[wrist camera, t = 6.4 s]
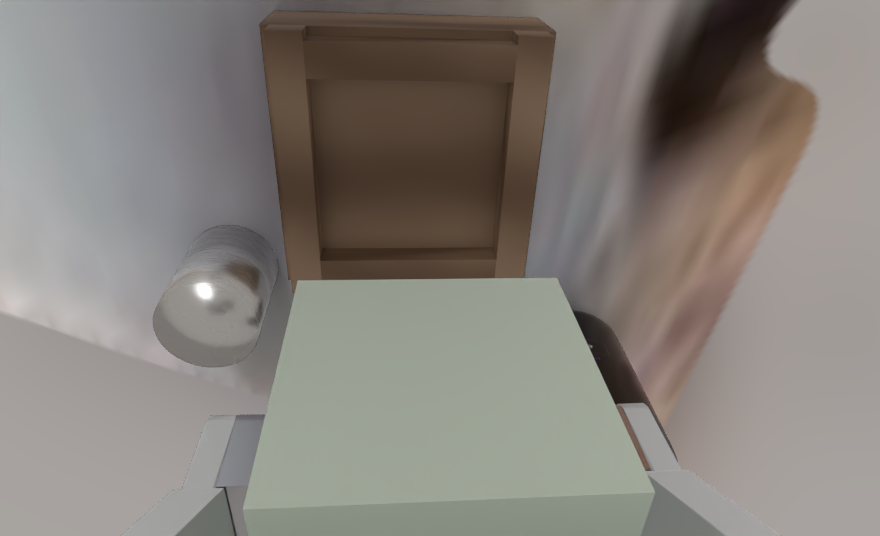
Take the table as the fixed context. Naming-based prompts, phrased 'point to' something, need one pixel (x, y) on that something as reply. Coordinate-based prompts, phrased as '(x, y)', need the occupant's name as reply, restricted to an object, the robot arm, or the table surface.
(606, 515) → the sage cube
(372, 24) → the walnut base
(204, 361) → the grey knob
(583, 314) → the supplement bottle
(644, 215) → the table surface
